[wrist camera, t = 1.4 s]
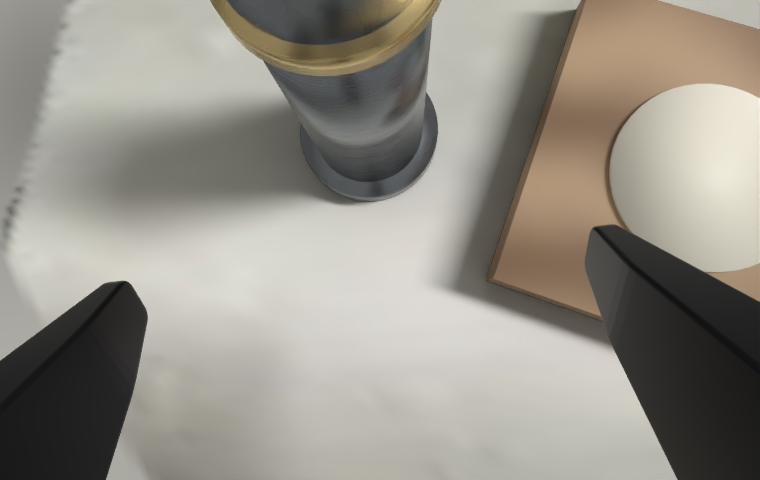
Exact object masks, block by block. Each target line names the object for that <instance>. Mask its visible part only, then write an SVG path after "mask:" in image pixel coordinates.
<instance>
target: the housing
mask: <svg viewBox="0 0 760 480" xmlns="http://www.w3.org/2000/svg"><path fill="white" fill-rule="evenodd" d="M210 1H211V3H212V4H213V6H214V8H215V9H216V11H217V12H218V14H219V15H220V17H221V18H222V20H223V21H224V23H225V24H226V26H227V27H228V28H229V30H230V31H231V32H232V34H233V35H234V36H235V38H236V39H237V40H238V41H239V42H240V43H241V44H242V45H243V46H244V47H245V48H246V49H248V50H249V51H250V52H252V53H253V54H254V55H256V56H257V57H258V58H260V59H262V60H263V61H264V63H265V64H266V66H267V68H268V69H269V71H270V73H271V74H272V76H273V77H274V79H275V81H276V82H277V84H278V86H279V87H280V89H281V91H282V92H283V94H284V95H285V97H286V99H287V100H288V102H289V104H290V105H291V107H292V109H293V110H294V112H295V113H296V115H297V117H298V118H299V120H300V122H301V125H300V138H301V145H302V149H303V152H304V155H305V158H306V160H307V162H308V163H309V165H310V167H311V168H312V170H313V171H314V172H315V174H316V175H317V176H318V178H319V179H320V180H321V181H322V182H323V183H324V184H325V185H326V186H327V187H329V188H330V189H331V190H332V191H334V192H336V193H338V194H339V195H342V196H344V197H346V198H350V199H353V200H358V201H380V200H385V199H389V198H392V197H394V196H397V195H399V194H401V193H403V192H405V191H406V190H408V189H409V188H410V187H412V186H413V185H414V184H415V183H416V182H417V181H418V180H419V179H420V178H421V177H422V176H423V174H424V173H425V172H426V170H427V168H428V167H429V165H430V163H431V160H432V158H433V155H434V151H435V148H436V142H437V135H438V123H437V116H436V112H435V109H434V106H433V104H432V101H431V99H430V97H429V96H428V94H427V93H426V85H427V73H428V62H429V50H430V39H431V27H432V17H433V16H434V14H435V12H436V11H437V9H438V7H439V5H440V2H441V0H210Z"/></svg>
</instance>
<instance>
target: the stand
mask: <svg viewBox="0 0 760 480" xmlns="http://www.w3.org/2000/svg"><path fill="white" fill-rule="evenodd" d="M609 224H615V225H618V226H620V227H622V228H624V229H625V230H627V231H629V232H631V233H633V234H635V235H637V236H638V237H640V238H642V239H644V240H646V241H648V242H650V243H652V244H653V245H655V246H657V247H659V248H661V249H663V250H665V251H666V252H668V253H670V254H672V255H674V256H676V257H678V258H679V259H681V260H683V261H685V262H687V263H689V264H691V265H692V266H694V267H696V268H698V269H700V270H702V271H704V272H706V273H707V274H709V275H711V276H713V277H715V278H717V279H719V280H720V281H722V282H724V283H726V284H728V285H730V286H732V287H733V288H735V289H737V290H739V291H741V292H743V293H745V294H747V295H748V296H750V297H752V298H754V299H756V300H758V301H760V29H757V28H753V27H750V26H746V25H742V24H739V23H735V22H732V21H728V20H725V19H721V18H718V17H714V16H711V15H707V14H704V13H700V12H697V11H693V10H690V9H686V8H683V7H679V6H676V5H672V4H668V3H665V2H661V1H658V0H581V2H580V4H579V5H578V7H577V9H576V12H575V15H574V18H573V21H572V24H571V27H570V30H569V33H568V36H567V39H566V42H565V45H564V48H563V51H562V54H561V57H560V60H559V63H558V66H557V69H556V72H555V75H554V78H553V81H552V84H551V87H550V90H549V93H548V96H547V99H546V102H545V105H544V108H543V111H542V114H541V117H540V120H539V123H538V126H537V129H536V132H535V135H534V138H533V141H532V144H531V147H530V149H529V152H528V155H527V158H526V161H525V164H524V167H523V170H522V173H521V176H520V179H519V182H518V185H517V188H516V191H515V194H514V197H513V200H512V203H511V206H510V209H509V212H508V215H507V218H506V221H505V224H504V227H503V230H502V233H501V236H500V239H499V242H498V245H497V248H496V251H495V254H494V257H493V260H492V263H491V266H490V269H489V272H488V275H487V278H486V280H487V281H489V282H492V283H495V284H498V285H501V286H504V287H507V288H509V289H512V290H515V291H518V292H521V293H524V294H526V295H529V296H532V297H535V298H538V299H541V300H544V301H546V302H549V303H552V304H555V305H558V306H561V307H564V308H566V309H569V310H572V311H575V312H578V313H581V314H584V315H586V316H589V317H592V318H595V319H598V320H601V321H603V320H602V317H601V314H600V311H599V309H598V306H597V303H596V300H595V297H594V294H593V291H592V288H591V285H590V282H589V280H588V277H587V274H586V271H585V264H584V260H585V254H586V249H587V244H588V239H589V234H590V231H591V229H592V228H593V227H595V226H600V225H609Z"/></svg>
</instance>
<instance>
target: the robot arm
mask: <svg viewBox="0 0 760 480" xmlns="http://www.w3.org/2000/svg"><path fill="white" fill-rule="evenodd" d="M584 264H585V271H586V274H587V277H588V280H589V282H590V285H591V288H592V291H593V294H594V297H595V300H596V303H597V306H598V309H599V311H600V314H601V317H602V320H603V323H604V326H605V329H606V331H607V334H608V337H609V339H610V342H611V344H612V346H613V348H614V350H615V352H616V354H617V357H618V359H619V361H620V363H621V365H622V367H623V369H624V371H625V373H626V375H627V377H628V379H629V381H630V383H631V385H632V387H633V389H634V391H635V393H636V395H637V398H638V400H639V402H640V404H641V406H642V408H643V410H644V412H645V414H646V416H647V418H648V420H649V422H650V424H651V426H652V428H653V430H654V432H655V434H656V436H657V439H658V441H659V443H660V445H661V447H662V449H663V451H664V453H665V455H666V457H667V459H668V461H669V463H670V465H671V467H672V469H673V471H674V473H675V475H676V477H677V480H760V301H758V300H756V299H754V298H752V297H750V296H748V295H747V294H745V293H743V292H741V291H739V290H737V289H735V288H733V287H732V286H730V285H728V284H726V283H724V282H722V281H720V280H719V279H717V278H715V277H713V276H711V275H709V274H707V273H706V272H704V271H702V270H700V269H698V268H696V267H694V266H692V265H691V264H689V263H687V262H685V261H683V260H681V259H679V258H678V257H676V256H674V255H672V254H670V253H668V252H666V251H665V250H663V249H661V248H659V247H657V246H655V245H653V244H652V243H650V242H648V241H646V240H644V239H642V238H640V237H638V236H637V235H635V234H633V233H631V232H629V231H627V230H625V229H624V228H622V227H620V226H618V225H615V224H609V225H600V226H595V227H593V228H592V229H591V231H590V234H589V239H588V244H587V249H586V254H585V260H584ZM147 320H148V316H147V311H146V308H145V306H144V305H143V303H142V301H141V300H140V298H139V296H138V295H137V293H136V291H135V290H134V288H133V287H132V285H131V284H130V283H129V282H127V281H116V282H108V283H105V284H103V285H101V286H100V287H99V288H97V289H96V290H95V291H93V292H92V293H91V294H89V295H88V296H87V297H85V298H84V299H83V300H81V301H80V302H79V303H77V304H76V305H75V306H73V307H72V308H71V309H69V310H68V311H67V312H65V313H64V314H62V315H61V316H60V317H58V318H57V319H56V320H54V321H53V322H52V323H50V324H49V325H48V326H46V327H45V328H44V329H42V330H41V331H40V332H38V333H37V334H36V335H34V336H33V337H32V338H30V339H29V340H28V341H26V342H25V343H24V344H22V345H21V346H19V347H18V348H17V349H15V350H14V351H13V352H11V353H10V354H9V355H7V356H6V357H5V358H3V359H2V360H1V361H0V480H106V478H107V475H108V471H109V468H110V465H111V462H112V458H113V455H114V452H115V449H116V446H117V443H118V439H119V436H120V433H121V430H122V427H123V423H124V420H125V417H126V414H127V411H128V407H129V404H130V401H131V397H132V394H133V390H134V386H135V382H136V378H137V372H138V367H139V362H140V357H141V352H142V347H143V342H144V336H145V331H146V326H147Z"/></svg>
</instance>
